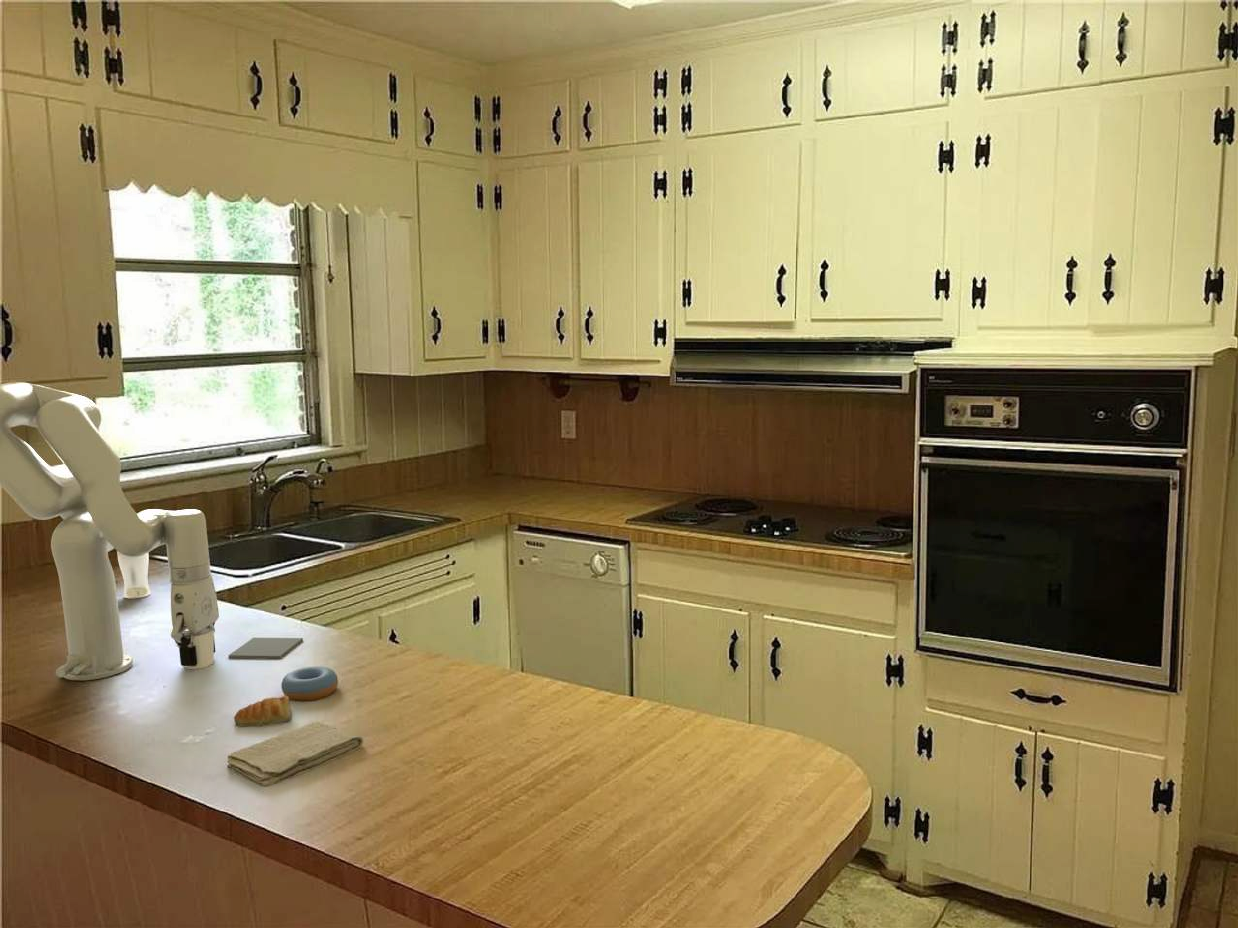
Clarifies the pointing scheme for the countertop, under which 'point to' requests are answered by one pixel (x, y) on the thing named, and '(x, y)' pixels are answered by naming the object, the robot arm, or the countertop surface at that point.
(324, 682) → the doughnut
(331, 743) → the washcloth
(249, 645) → the mat
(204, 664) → the white cup
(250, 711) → the pastry
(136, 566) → the beer glass
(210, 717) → the countertop surface
